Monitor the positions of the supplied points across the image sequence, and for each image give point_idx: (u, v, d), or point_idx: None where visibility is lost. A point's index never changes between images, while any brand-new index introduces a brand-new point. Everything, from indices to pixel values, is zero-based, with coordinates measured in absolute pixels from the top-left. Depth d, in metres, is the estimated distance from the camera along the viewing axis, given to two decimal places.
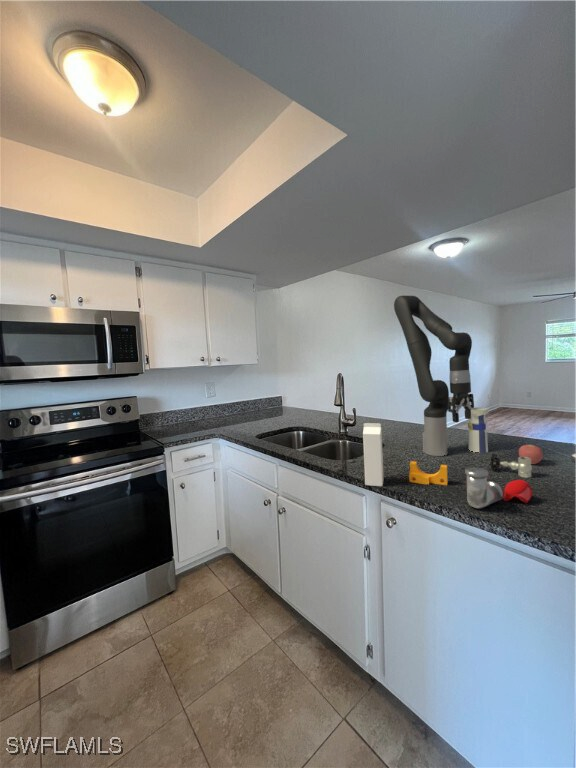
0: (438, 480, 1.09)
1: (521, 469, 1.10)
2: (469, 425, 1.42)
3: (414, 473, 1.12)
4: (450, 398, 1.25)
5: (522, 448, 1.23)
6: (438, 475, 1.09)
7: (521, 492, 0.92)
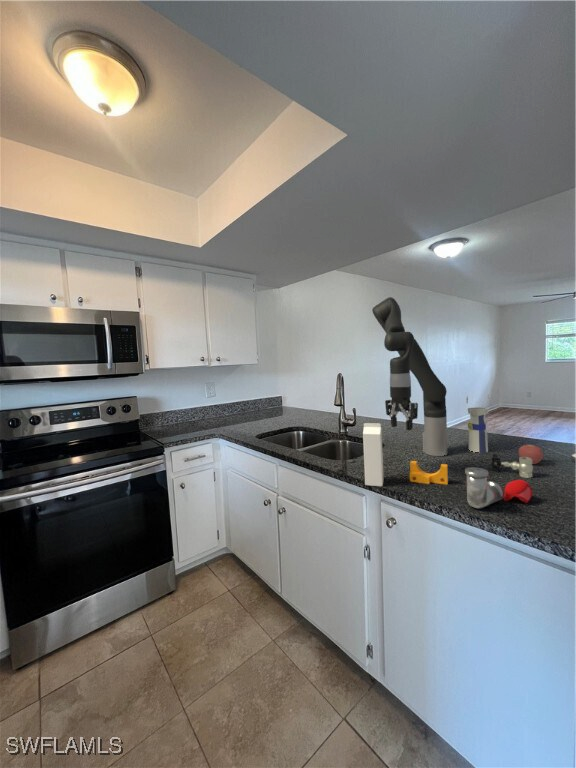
0: (438, 479, 1.10)
1: (522, 469, 1.10)
2: (469, 425, 1.42)
3: (414, 472, 1.13)
4: (415, 404, 1.13)
5: (522, 448, 1.23)
6: (439, 474, 1.09)
7: (521, 492, 0.92)
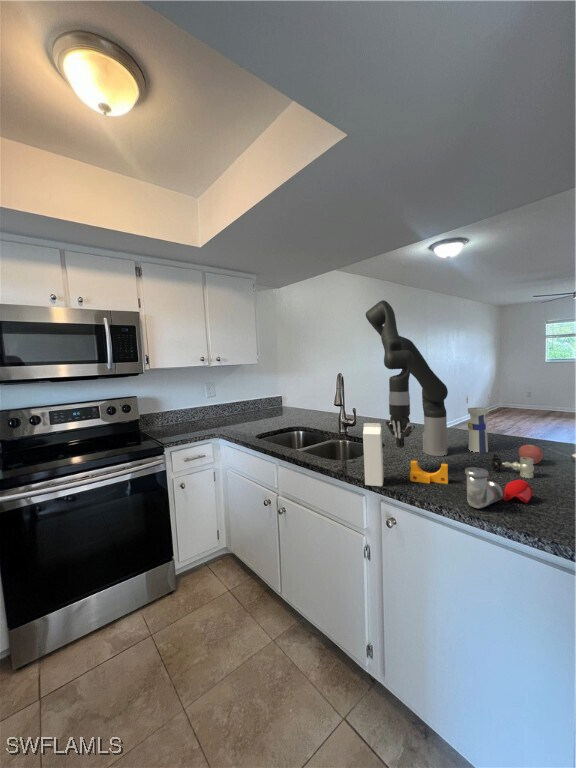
0: (439, 479, 1.10)
1: (523, 469, 1.10)
2: (469, 425, 1.42)
3: (415, 472, 1.13)
4: (412, 428, 1.15)
5: (522, 448, 1.23)
6: (439, 473, 1.10)
7: (521, 492, 0.92)
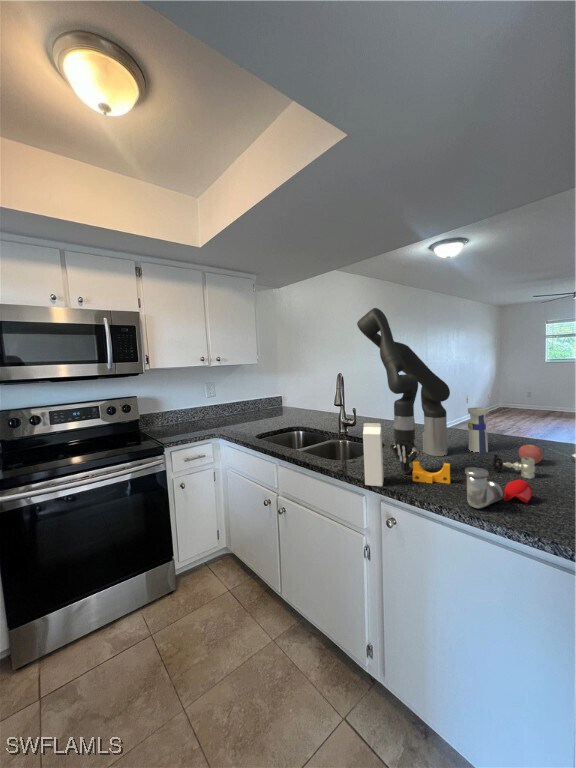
0: (441, 478, 1.10)
1: (524, 470, 1.10)
2: (469, 425, 1.42)
3: (417, 472, 1.13)
4: (417, 453, 1.14)
5: (522, 448, 1.23)
6: (441, 473, 1.10)
7: (521, 492, 0.92)
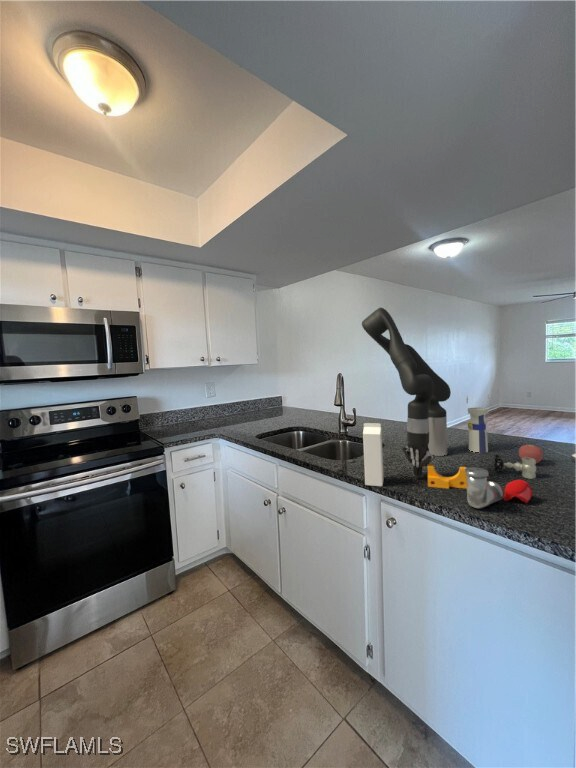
0: (458, 483, 1.05)
1: (526, 470, 1.09)
2: (469, 425, 1.42)
3: (433, 477, 1.08)
4: (431, 458, 1.08)
5: (522, 448, 1.23)
6: (458, 477, 1.05)
7: (521, 492, 0.92)
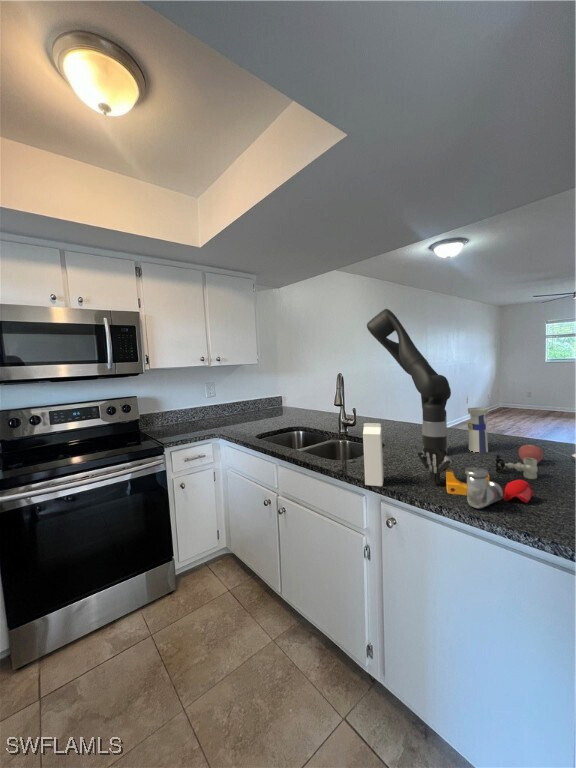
0: None
1: (527, 470, 1.09)
2: (469, 425, 1.42)
3: (452, 483, 1.02)
4: (450, 462, 1.02)
5: (522, 448, 1.23)
6: None
7: (521, 492, 0.92)
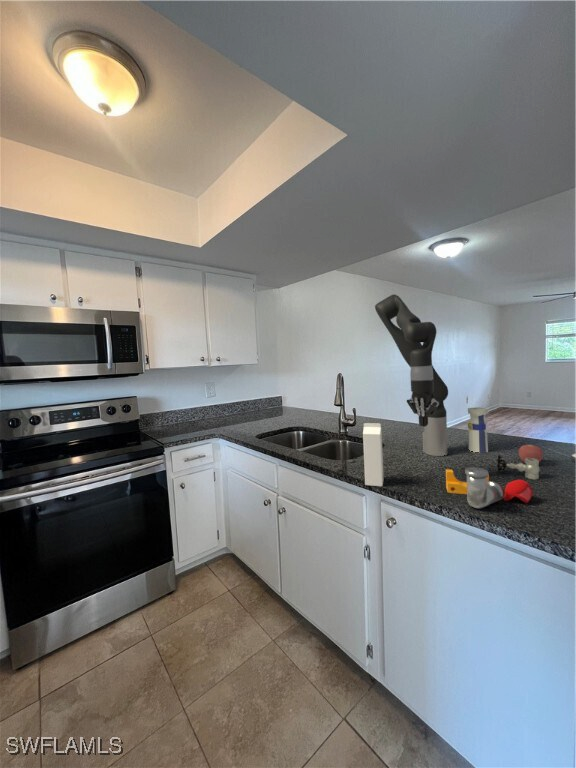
0: None
1: (529, 471, 1.09)
2: (469, 425, 1.42)
3: (452, 482, 1.02)
4: (437, 404, 1.07)
5: (522, 448, 1.23)
6: None
7: (521, 492, 0.92)
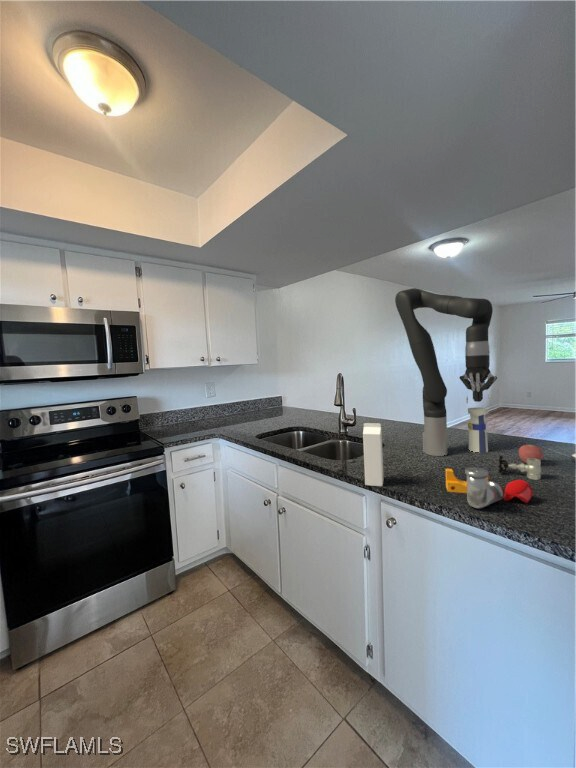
0: None
1: (531, 471, 1.08)
2: (469, 425, 1.42)
3: (452, 482, 1.03)
4: (494, 378, 1.09)
5: (522, 448, 1.23)
6: None
7: (521, 492, 0.92)
